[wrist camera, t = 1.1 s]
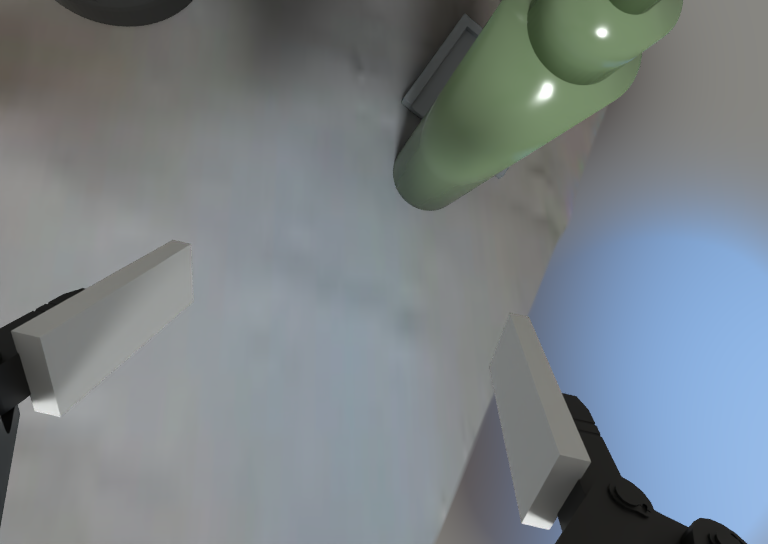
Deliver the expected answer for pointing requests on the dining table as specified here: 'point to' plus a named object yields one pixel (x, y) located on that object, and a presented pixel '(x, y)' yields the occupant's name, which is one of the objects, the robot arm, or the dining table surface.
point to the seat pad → (443, 68)
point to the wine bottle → (526, 89)
